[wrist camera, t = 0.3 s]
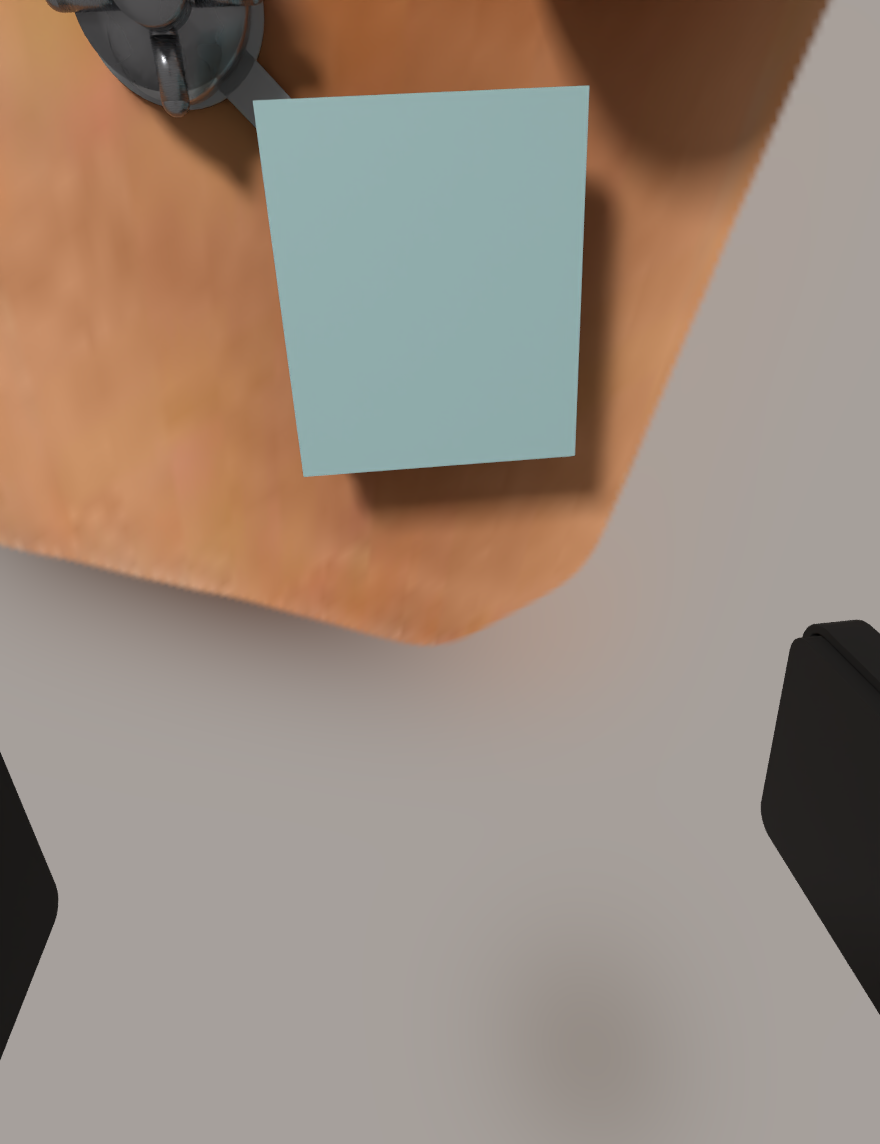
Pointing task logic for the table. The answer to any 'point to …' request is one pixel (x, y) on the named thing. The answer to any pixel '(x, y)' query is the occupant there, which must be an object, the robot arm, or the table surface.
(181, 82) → the cross handle valve
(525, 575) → the table surface
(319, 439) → the spoked knob panel
